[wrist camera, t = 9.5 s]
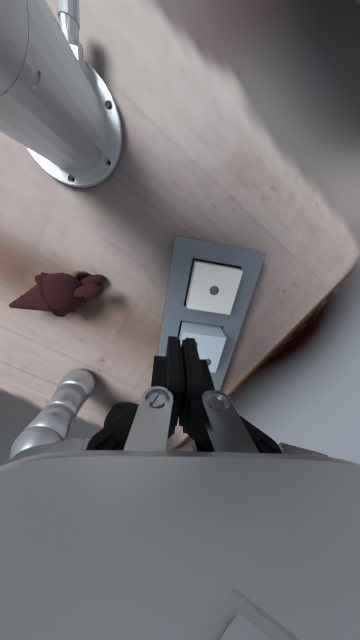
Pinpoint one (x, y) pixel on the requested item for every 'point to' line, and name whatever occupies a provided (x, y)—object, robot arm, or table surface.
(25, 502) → the robot arm
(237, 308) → the panel
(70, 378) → the plastic bottle
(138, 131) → the table surface
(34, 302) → the icecream
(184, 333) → the tile two
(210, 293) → the tile one
